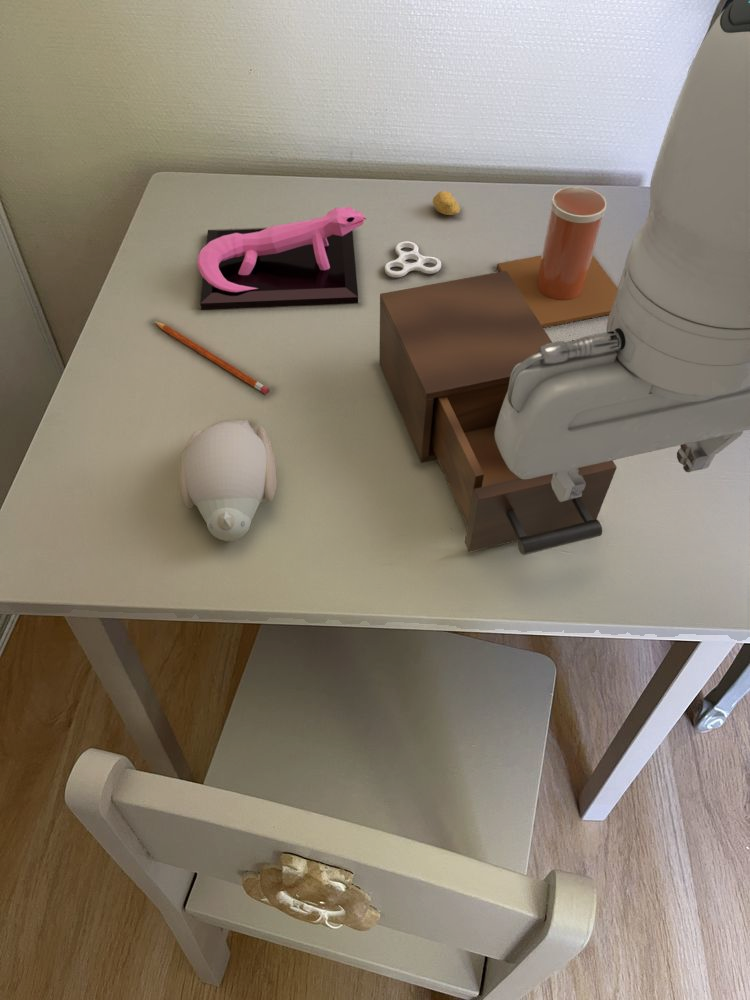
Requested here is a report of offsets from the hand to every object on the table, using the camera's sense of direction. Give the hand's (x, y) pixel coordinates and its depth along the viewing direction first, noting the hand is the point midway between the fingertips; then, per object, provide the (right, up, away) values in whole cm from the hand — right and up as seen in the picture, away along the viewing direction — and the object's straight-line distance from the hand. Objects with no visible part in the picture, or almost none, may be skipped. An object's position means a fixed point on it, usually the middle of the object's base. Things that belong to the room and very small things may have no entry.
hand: (628, 477), depth 53 cm
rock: (-8, +37, +50) cm, 62 cm away
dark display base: (-28, +27, +42) cm, 58 cm away
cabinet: (-8, +9, +29) cm, 31 cm away
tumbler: (+5, +24, +39) cm, 46 cm away
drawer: (-4, -1, +20) cm, 20 cm away
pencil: (-36, +14, +33) cm, 51 cm away
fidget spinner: (-13, +28, +43) cm, 53 cm away
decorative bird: (-31, 0, +22) cm, 38 cm away
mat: (+5, +24, +40) cm, 47 cm away
